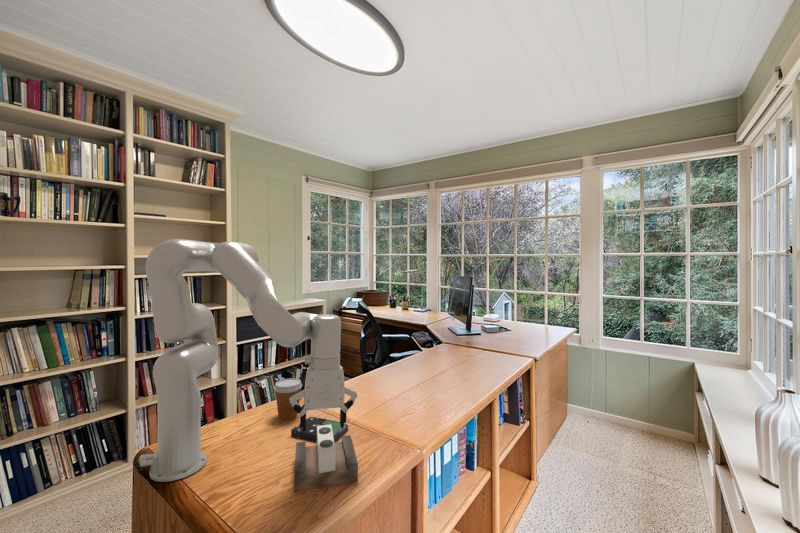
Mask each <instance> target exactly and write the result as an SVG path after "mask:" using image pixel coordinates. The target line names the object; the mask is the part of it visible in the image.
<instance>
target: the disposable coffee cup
mask: <svg viewBox="0 0 800 533" xmlns="http://www.w3.org/2000/svg"><path fill="white" fill-rule="evenodd" d="M302 387H303V384H302V380H301V379H298V378H284V379H281V380H280V379H279V380H278V381H276V382H275V384H274V387H273V389H274V391H275V401H276V408H277V416H278V419H279V420H280V421H290V420H294V419H296V418H297V417H298V413H297V412H296V411H295V410H294V409H293V406H292V405H291V403H290V401H289V400H290V397H291V396H293V395H295V394H297V393H299V392H300V391H302ZM297 403H298V404H299V405H300V399H298V400H297Z"/></svg>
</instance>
